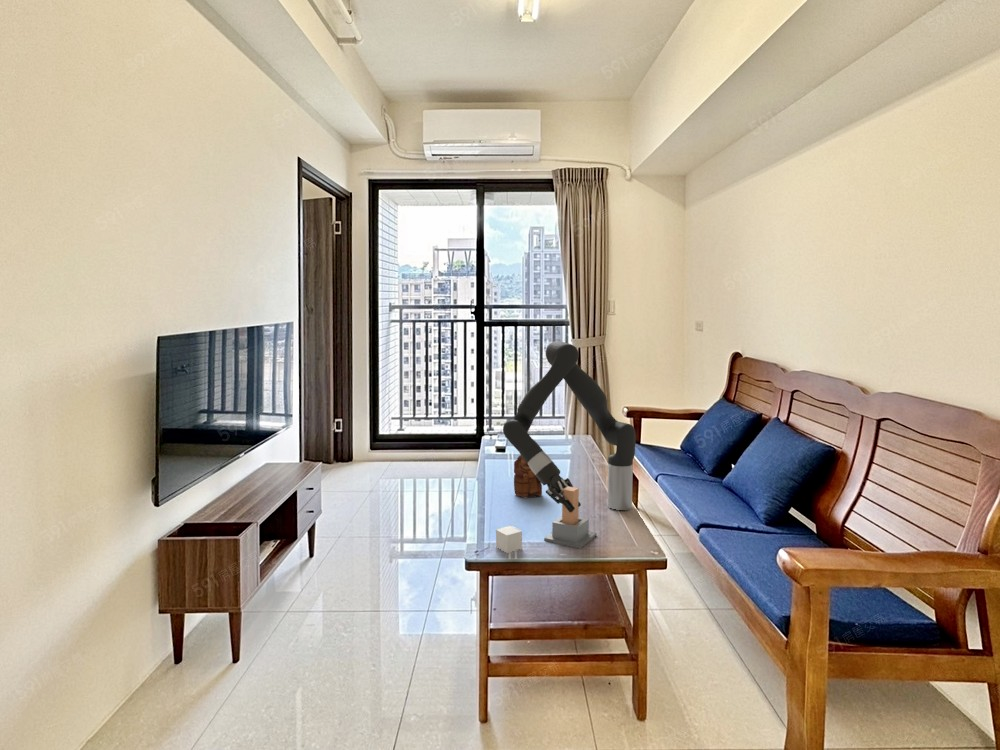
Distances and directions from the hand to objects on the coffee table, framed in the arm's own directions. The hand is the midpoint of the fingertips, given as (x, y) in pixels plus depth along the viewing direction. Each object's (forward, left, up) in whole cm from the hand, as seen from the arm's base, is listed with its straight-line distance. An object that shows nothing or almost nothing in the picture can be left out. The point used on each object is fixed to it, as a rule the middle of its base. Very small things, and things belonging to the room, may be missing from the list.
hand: (575, 508), depth 189 cm
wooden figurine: (-48, -11, -11) cm, 51 cm away
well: (-1, -1, -11) cm, 11 cm away
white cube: (+6, -22, -11) cm, 26 cm away
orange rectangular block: (-1, -2, -6) cm, 6 cm away
